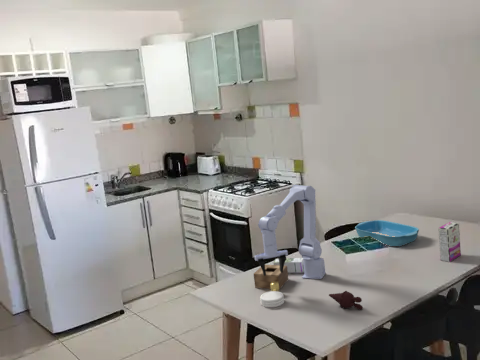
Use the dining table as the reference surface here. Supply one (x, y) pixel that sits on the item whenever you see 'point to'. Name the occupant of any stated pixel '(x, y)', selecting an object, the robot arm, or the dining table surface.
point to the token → (274, 286)
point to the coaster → (272, 299)
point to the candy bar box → (449, 241)
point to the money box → (270, 276)
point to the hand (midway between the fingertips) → (273, 273)
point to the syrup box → (293, 265)
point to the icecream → (347, 300)
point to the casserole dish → (388, 232)
